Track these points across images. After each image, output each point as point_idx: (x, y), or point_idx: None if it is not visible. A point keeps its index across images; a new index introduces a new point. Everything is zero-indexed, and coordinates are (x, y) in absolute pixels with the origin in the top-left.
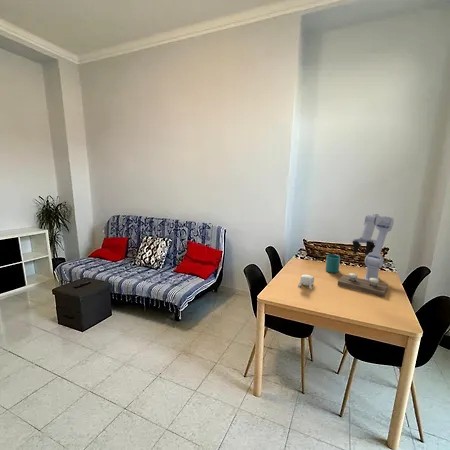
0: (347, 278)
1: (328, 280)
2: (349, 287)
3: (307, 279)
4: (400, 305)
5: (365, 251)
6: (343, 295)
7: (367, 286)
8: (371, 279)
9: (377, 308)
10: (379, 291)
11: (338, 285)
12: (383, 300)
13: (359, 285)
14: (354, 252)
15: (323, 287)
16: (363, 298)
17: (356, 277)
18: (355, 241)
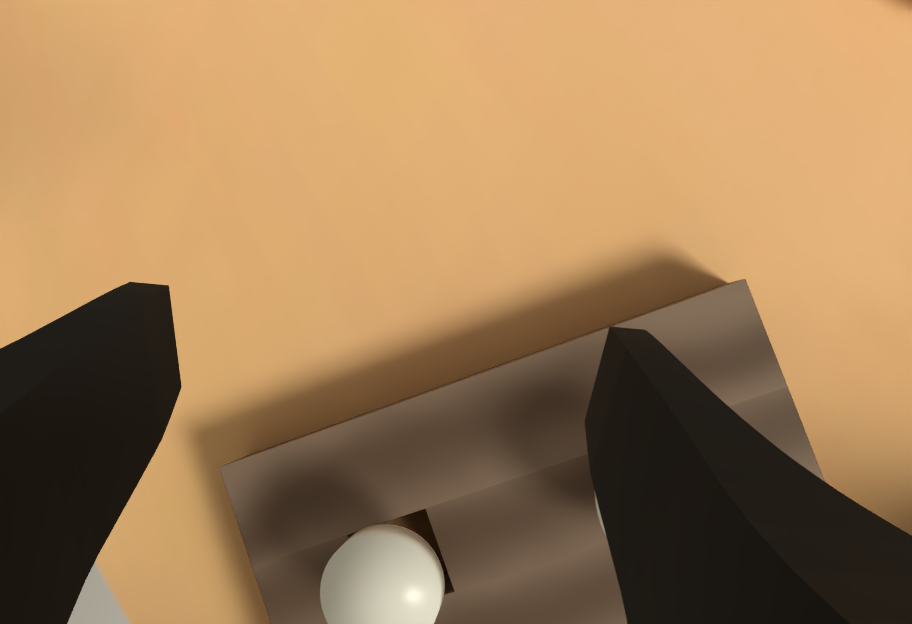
0: None
1: (908, 313)
2: (586, 334)
3: None
4: None
5: (101, 306)
6: (500, 99)
7: (420, 464)
8: (395, 556)
9: (153, 158)
10: (266, 451)
11: (716, 287)
12: (211, 382)
13: (491, 402)
14: (606, 346)
15: (777, 62)
16: (342, 235)
17: (594, 491)
18: None
